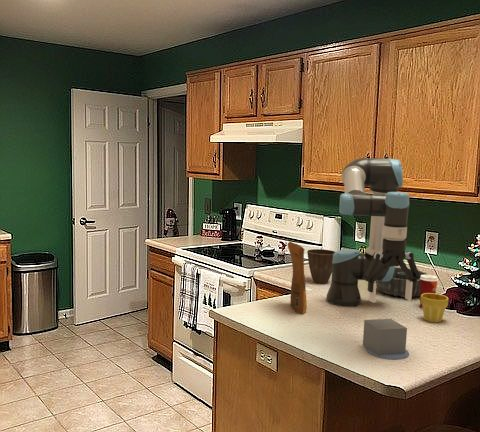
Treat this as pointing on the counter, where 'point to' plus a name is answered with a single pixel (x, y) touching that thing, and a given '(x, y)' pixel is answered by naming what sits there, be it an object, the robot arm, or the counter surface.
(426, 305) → the plant pot
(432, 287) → the paper cup
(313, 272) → the plant pot
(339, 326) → the counter surface
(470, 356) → the counter surface
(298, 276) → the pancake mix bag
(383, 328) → the grey matte cube
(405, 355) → the circle
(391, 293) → the bundt pan
